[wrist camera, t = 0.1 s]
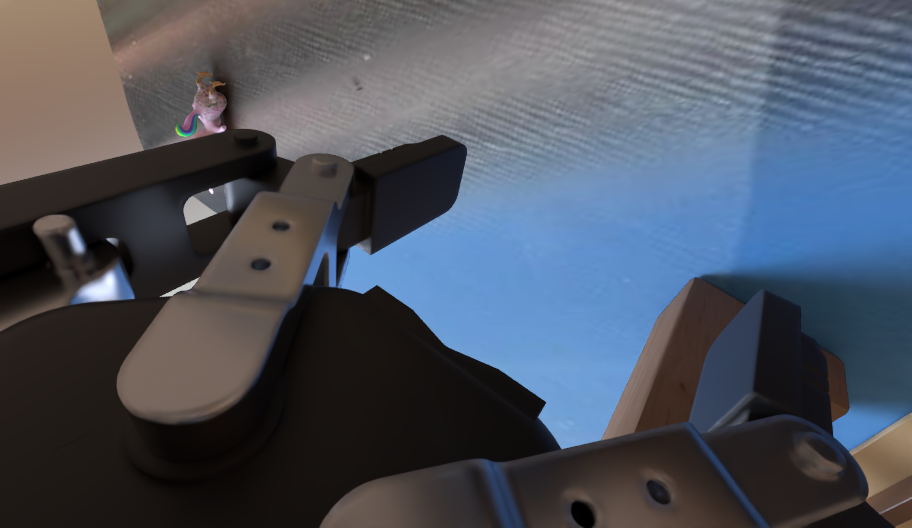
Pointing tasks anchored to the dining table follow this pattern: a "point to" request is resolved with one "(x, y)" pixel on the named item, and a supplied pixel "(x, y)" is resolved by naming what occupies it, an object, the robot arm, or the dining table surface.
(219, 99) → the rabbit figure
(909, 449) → the guide
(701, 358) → the wooden block
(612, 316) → the dining table surface
